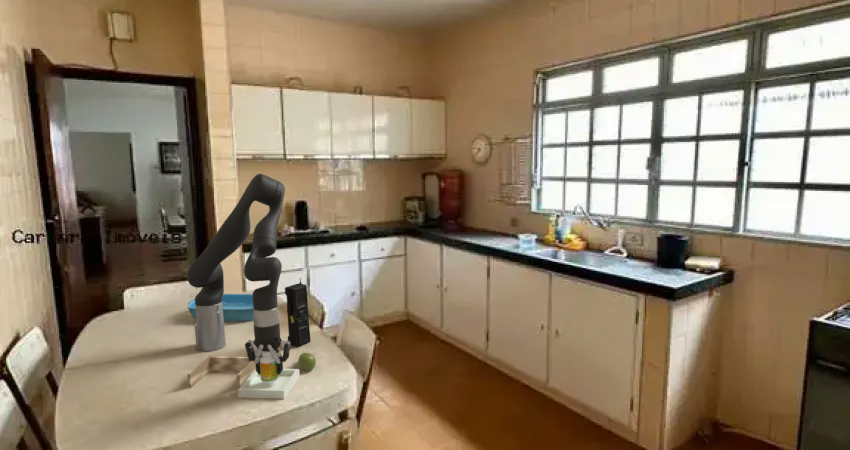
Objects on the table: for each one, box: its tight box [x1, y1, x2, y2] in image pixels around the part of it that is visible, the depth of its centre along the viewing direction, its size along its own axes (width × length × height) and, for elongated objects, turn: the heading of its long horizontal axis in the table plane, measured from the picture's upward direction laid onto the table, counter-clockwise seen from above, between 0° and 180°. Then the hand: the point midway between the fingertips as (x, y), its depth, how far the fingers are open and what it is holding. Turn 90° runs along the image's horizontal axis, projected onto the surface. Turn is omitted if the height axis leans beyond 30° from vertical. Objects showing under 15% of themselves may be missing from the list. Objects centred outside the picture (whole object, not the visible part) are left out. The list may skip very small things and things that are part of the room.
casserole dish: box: [187, 293, 253, 322], centre depth 211 cm, size 37×22×7 cm, turn 89°
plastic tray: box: [237, 368, 301, 400], centre depth 146 cm, size 14×14×2 cm
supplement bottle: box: [260, 351, 279, 383], centre depth 145 cm, size 5×5×10 cm
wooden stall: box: [187, 355, 256, 390], centre depth 152 cm, size 17×13×4 cm
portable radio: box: [284, 278, 312, 348], centre depth 177 cm, size 8×6×25 cm
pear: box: [297, 352, 317, 372], centre depth 160 cm, size 6×5×10 cm
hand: (269, 373), depth 146 cm, fingers closed on supplement bottle, 5 cm apart
